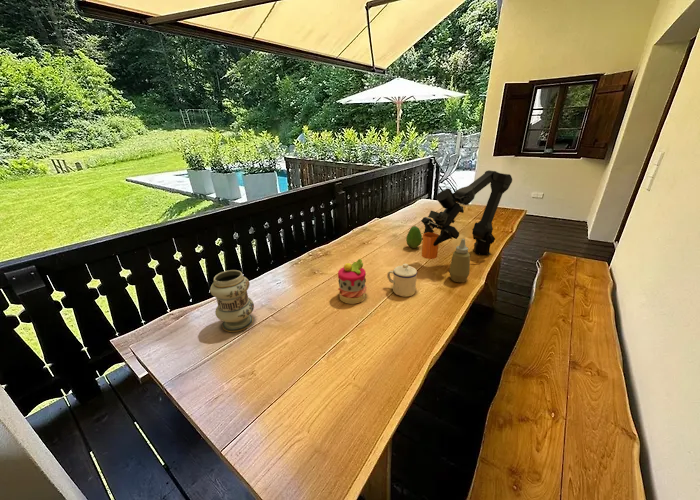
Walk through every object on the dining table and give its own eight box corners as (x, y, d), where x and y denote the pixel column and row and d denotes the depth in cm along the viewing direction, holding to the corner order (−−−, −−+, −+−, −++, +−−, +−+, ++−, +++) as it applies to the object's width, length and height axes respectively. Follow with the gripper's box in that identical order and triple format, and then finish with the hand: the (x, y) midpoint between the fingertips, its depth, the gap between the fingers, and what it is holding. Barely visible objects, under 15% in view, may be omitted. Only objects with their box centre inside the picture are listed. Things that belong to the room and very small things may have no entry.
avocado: (414, 251, 154) (416, 229, 150) (403, 247, 160) (404, 226, 155) (424, 247, 159) (425, 225, 155) (412, 243, 165) (413, 222, 160)
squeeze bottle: (469, 284, 121) (476, 243, 114) (449, 283, 123) (453, 242, 116) (466, 275, 128) (472, 236, 122) (447, 274, 130) (451, 235, 123)
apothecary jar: (227, 312, 107) (217, 267, 100) (261, 312, 106) (253, 266, 99) (212, 334, 95) (200, 284, 89) (249, 334, 95) (240, 284, 88)
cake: (346, 307, 108) (345, 269, 102) (334, 293, 117) (332, 258, 111) (371, 299, 113) (371, 263, 107) (357, 287, 121) (357, 253, 116)
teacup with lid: (419, 289, 119) (421, 262, 114) (409, 299, 112) (411, 271, 107) (392, 281, 125) (393, 256, 121) (381, 290, 118) (382, 264, 114)
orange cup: (435, 252, 137) (437, 232, 133) (438, 259, 131) (440, 237, 127) (420, 252, 138) (421, 232, 134) (422, 259, 131) (424, 237, 128)
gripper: (425, 199, 135) (404, 226, 134) (457, 208, 119) (434, 239, 119) (437, 213, 141) (417, 240, 141) (469, 224, 126) (446, 253, 125)
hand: (428, 242), depth 131 cm, fingers closed on orange cup, 7 cm apart
